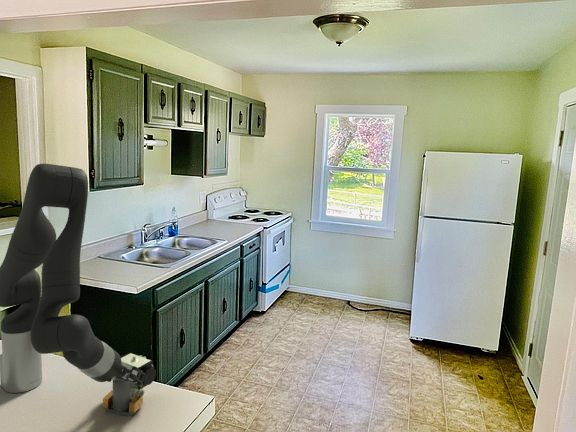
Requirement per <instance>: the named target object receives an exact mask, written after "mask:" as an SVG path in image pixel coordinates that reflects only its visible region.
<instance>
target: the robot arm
mask: <svg viewBox="0 0 576 432" xmlns="http://www.w3.org/2000/svg"><path fill="white" fill-rule="evenodd" d="M88 180H89V179H88V176H87V173H86V172H85V170H84V169H82V168H78V167H74V166H66V165H60V164H59V165H58V164H53V163H37V164H36V165H35V166H34V167H33V169H32V170H31V173H30V174H29V177H28V180H27V181H28V182H27V184H26V188H25V189H26V190H25V193H24V198H23V202H22V207H21V210H20V214H19V216H18V220H17V222H16V224H15V226H14V229H13V231H12V233H11V237H10V239H9V242H8V247H7V250H6V253H5V256H4V259H3V261H2V263H1V264H0V308H11V307H15V306H19V307H18V308H17V309H16V310H14V311H13V312H11V313H8V314H7V315H5V316H4V317H3V318H2V319H1V321H0V333H1V334H0V335H1V336H0V337H1V352H2V353H1V354H0V388H3V390H4V391H5V392H7V393H9V394H10V393H11V394H19V393H25V392H28V391H31V390H33V389H35V388H37V387H39V386H40V385H41V383H42V382H43V362H42V355H48V354H55V353H62V356H63V358H64V359H65V360H66V361H67V362H68V363H69V364H70V365H72V366H74V367H76V368H77V369H78V370H79V371H80V372H81V373H83V374H84V375H85V376H88V378H90V379H92V380H94V381H96V382H98V383H105V382H107V383H111V382H112V381H113V380H119V381H122V382H131V383H133V384H135V385H136V386H138V387H140V386H141V385H142V383H143V380H144V377H145V373H144V372H142V371H141V370H140V369H138V368H137V367H135V366H134V367H132V368H130V367H128V366H125V365H124V364H123V363H122V361H121V357H122V356H121V355H120V354H119V353H118V352H117V351H116V350H115V349H114V348H112V347H111V346H109V345H108V344H107V343H106V342H104V341H102V340H100V339H99V338H98V337H97V336H95V334H94V331H93V329H92V326H91V323H90V321H89V320H88V318H86V317H85V316H83V315H80V314H67V315H60V313H61V310H62V309H63V308H64V307H65V306H67V305H70V304H73V303H75V302H77V301H78V300H79V299H80V296H81V269H80V268H81V252H82V251H81V250H82V244H83V235H84V229H85V222H86V214H87V205H88V198H89V197H88V196H89V181H88ZM45 207H52V208H60V209H61V208H63V209H68V216H67V221H66V223H65V226H64V228H63V229H62V231H61V233H59V234H60V235H59V236H58V237H57V232H56V229H55V228H54V225H53V224H52V222H51V221H50V219H49V218H48V217H47V216H46V215H45V213H44V211H43V208H45ZM40 266H41V277H40V275H39V274H40V273H38V271H37V270H36V269H37V268H39V267H40ZM125 374H126V376H125ZM123 376H125V379H124V378H122V377H123Z"/></svg>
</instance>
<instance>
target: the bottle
mask: <svg viewBox="0 0 576 432" xmlns="http://www.w3.org/2000/svg"><path fill="white" fill-rule="evenodd" d="M125 376H126V374H125ZM125 376H123V377H122V378H124V379H125ZM112 390H113V409H114V410H115V411H125V410H127V409H129V403H130V402H131V401H132V383H131V382H122V381H119V380H113V379H112Z"/></svg>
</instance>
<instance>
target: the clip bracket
mask: <svg viewBox="0 0 576 432" xmlns="http://www.w3.org/2000/svg"><path fill="white" fill-rule="evenodd" d="M143 396H144V395H138V394H137V395H136V397H135V398H134V399H133V400H132V401H131V402H130V403H129V409H127V410H125V411H115V410H114V409H113V389H112V390H110V391H109V392H108V393H107V394H106V395H105V396H104V397H103V398H102V408H104V413H107V414H113V415H118V416H119V415H120V416H124V417H130V418H131V417H133V415H134V414H136V412H137V411H138V410H139V409H140V408H141V407H142V405H143V403H144V399H143V398H144V397H143Z"/></svg>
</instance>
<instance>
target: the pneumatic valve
mask: <svg viewBox="0 0 576 432" xmlns="http://www.w3.org/2000/svg"><path fill="white" fill-rule="evenodd" d="M120 357H121V361H122V363H123V364H124V365H125V366H128V367H130V368H132V367H134V366H135V367H137V368H138V369H140V370H141V371H142V372H144V373H145V377H144V380H143V383H142V385H141V386H140V387H138V386H136V385H135V384H133V383H132V400H133V399H134V398H135V397H136V395H137V394H138V395H143V396H144V395H145V390H144V389H143V388H145V387H147V386H149V385H151V384H152V383H153V382H154V381H155V378H156V377H157V371H156V369H155V367H154V361H153V360H151V359H147V357H146V356H143V355H138V354H134V353H131V352H129V353H126V354H124V355H121V356H120Z"/></svg>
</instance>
